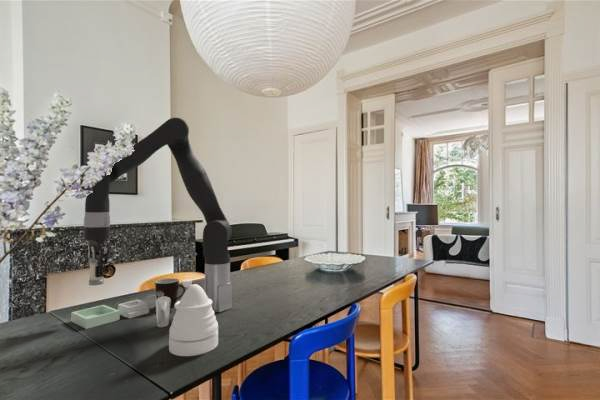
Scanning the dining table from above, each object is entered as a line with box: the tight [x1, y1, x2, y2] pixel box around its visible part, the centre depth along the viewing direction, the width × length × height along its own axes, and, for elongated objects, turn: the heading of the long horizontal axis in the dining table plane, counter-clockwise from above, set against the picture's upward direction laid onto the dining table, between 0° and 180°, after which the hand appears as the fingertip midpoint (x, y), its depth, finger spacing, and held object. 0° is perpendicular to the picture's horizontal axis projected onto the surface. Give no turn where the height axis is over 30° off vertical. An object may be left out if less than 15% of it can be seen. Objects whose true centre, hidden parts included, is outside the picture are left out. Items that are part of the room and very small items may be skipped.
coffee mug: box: [154, 277, 186, 310], centre depth 119 cm, size 12×9×10 cm
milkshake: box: [152, 296, 171, 328], centre depth 101 cm, size 4×5×10 cm
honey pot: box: [168, 278, 219, 357], centre depth 87 cm, size 13×13×18 cm
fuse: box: [88, 257, 104, 287], centre depth 106 cm, size 4×4×9 cm
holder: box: [116, 299, 150, 319], centre depth 113 cm, size 9×7×4 cm
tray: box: [70, 304, 121, 330], centre depth 106 cm, size 12×10×3 cm
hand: (96, 276), depth 106 cm, fingers closed on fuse, 3 cm apart
